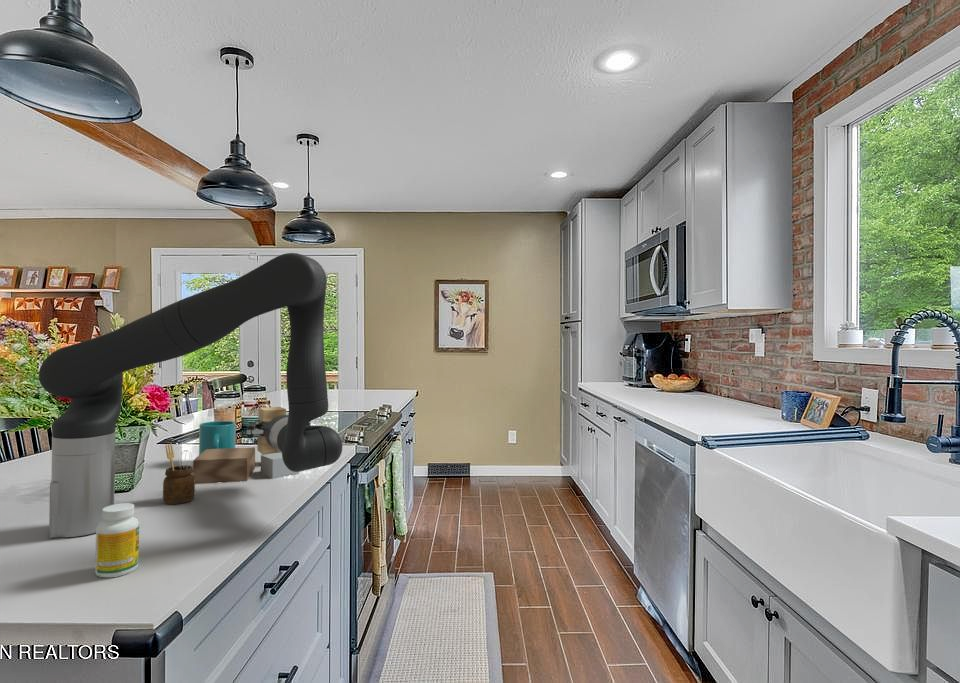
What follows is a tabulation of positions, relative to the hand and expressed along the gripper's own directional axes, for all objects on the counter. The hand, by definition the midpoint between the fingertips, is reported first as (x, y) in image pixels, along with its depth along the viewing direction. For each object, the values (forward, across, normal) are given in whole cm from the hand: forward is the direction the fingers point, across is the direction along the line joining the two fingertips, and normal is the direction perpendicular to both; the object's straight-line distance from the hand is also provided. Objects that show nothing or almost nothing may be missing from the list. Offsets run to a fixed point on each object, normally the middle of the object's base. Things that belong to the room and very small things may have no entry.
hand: (269, 423), depth 125 cm
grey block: (+10, -6, +15) cm, 19 cm away
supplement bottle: (-36, +30, +15) cm, 49 cm away
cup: (+29, +6, +15) cm, 34 cm away
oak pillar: (-3, 0, +6) cm, 7 cm away
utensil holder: (-2, +18, +15) cm, 24 cm away
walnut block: (+15, +6, +15) cm, 23 cm away
